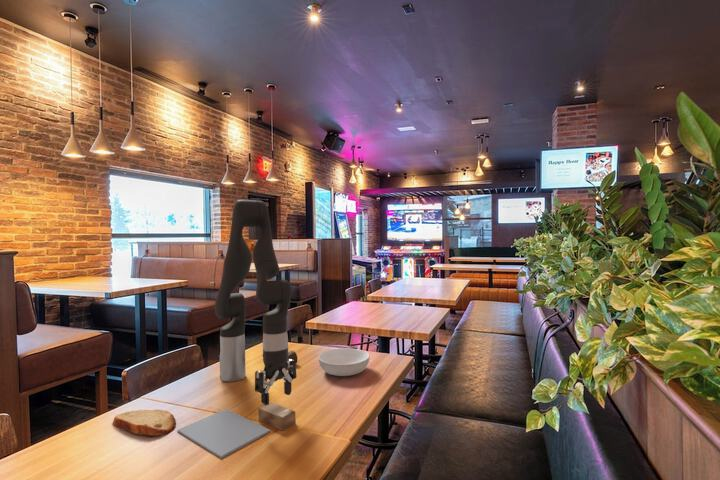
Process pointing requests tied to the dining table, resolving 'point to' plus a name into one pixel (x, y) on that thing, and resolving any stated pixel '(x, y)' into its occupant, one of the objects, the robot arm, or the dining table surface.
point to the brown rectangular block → (277, 416)
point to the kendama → (292, 356)
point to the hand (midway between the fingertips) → (276, 399)
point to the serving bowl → (344, 361)
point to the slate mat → (223, 432)
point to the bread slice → (146, 422)
